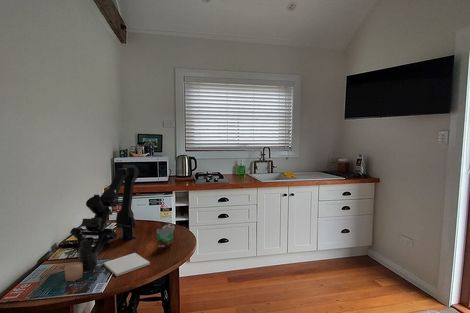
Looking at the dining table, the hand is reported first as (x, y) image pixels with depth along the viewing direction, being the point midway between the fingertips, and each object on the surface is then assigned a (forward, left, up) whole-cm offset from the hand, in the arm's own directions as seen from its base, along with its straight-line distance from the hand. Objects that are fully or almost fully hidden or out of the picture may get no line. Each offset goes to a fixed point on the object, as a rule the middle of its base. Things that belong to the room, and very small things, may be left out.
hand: (85, 252), depth 112 cm
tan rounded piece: (+5, -6, -7) cm, 10 cm away
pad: (+9, +13, -7) cm, 17 cm away
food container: (+3, +37, -7) cm, 38 cm away
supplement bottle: (-1, +1, -7) cm, 7 cm away
